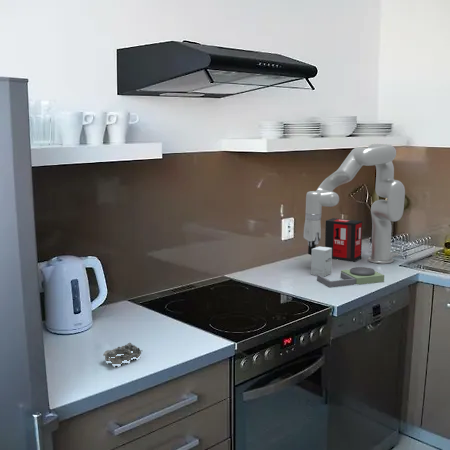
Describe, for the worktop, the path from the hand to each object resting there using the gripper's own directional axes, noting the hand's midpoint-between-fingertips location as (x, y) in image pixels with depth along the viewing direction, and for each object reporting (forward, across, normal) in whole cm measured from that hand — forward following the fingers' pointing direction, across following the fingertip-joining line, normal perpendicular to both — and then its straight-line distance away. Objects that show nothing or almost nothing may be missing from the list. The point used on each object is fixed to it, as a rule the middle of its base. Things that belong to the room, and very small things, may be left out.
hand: (311, 254), depth 270 cm
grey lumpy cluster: (+11, +75, -101) cm, 126 cm away
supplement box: (+8, +9, +1) cm, 12 cm away
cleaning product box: (+7, -15, +26) cm, 31 cm away
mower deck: (+8, +23, +8) cm, 25 cm away
